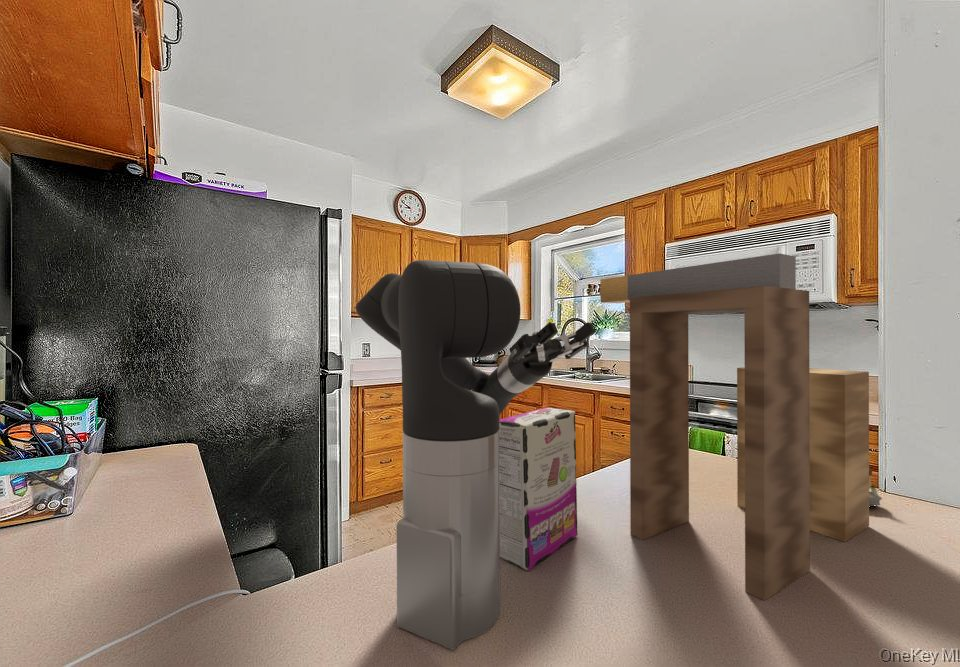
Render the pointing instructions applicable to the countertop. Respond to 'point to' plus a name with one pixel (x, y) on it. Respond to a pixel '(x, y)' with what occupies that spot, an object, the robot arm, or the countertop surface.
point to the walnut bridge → (768, 423)
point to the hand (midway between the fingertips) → (574, 326)
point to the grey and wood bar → (704, 278)
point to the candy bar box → (537, 485)
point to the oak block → (829, 450)
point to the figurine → (873, 493)
